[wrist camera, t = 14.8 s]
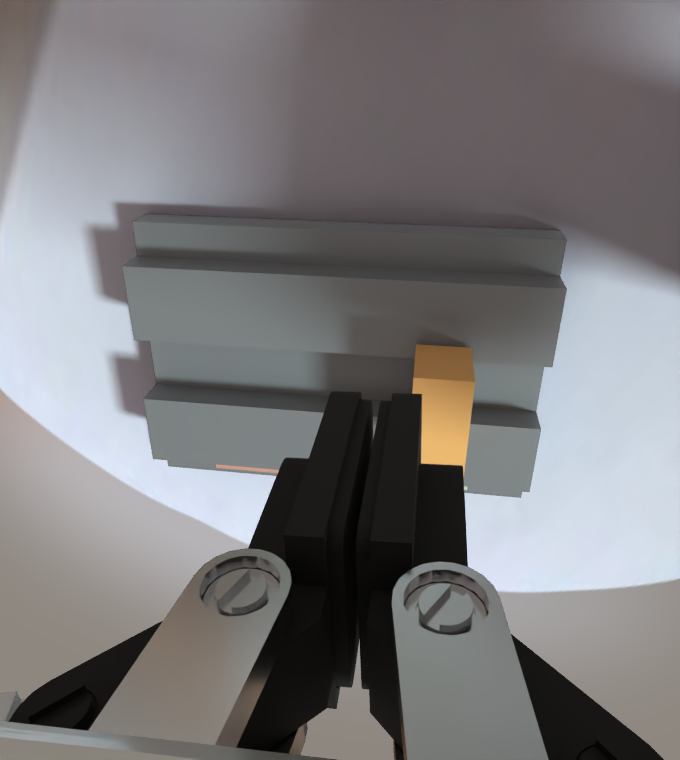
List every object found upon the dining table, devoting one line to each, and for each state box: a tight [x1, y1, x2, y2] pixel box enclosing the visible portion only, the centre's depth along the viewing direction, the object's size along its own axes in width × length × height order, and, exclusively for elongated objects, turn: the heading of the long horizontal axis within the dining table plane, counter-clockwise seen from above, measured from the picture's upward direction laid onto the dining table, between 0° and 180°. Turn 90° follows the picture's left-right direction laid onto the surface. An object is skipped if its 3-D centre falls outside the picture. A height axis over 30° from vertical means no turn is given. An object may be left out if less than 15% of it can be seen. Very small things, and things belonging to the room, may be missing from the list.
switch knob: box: [412, 344, 475, 476], centre depth 35 cm, size 3×6×6 cm, turn 179°
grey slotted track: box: [122, 214, 567, 498], centre depth 38 cm, size 24×17×4 cm
